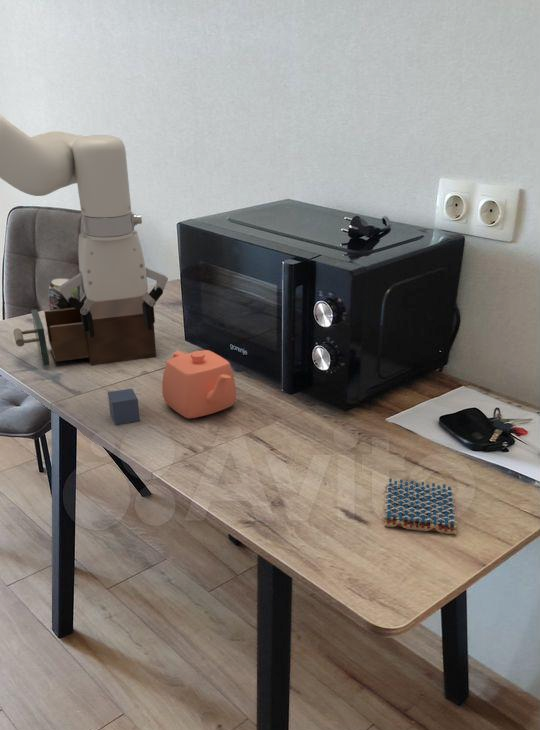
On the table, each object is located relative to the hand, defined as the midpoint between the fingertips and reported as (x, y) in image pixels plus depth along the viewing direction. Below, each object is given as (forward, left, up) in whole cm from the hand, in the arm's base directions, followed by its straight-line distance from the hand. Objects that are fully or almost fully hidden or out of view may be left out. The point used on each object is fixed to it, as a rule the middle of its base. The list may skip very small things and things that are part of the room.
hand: (120, 331), depth 117 cm
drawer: (-8, +30, -15) cm, 34 cm away
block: (-1, -1, -16) cm, 16 cm away
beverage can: (-5, +43, -16) cm, 46 cm away
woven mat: (+33, -44, -16) cm, 57 cm away
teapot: (+13, -2, -16) cm, 21 cm away
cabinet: (+4, +30, -16) cm, 34 cm away
